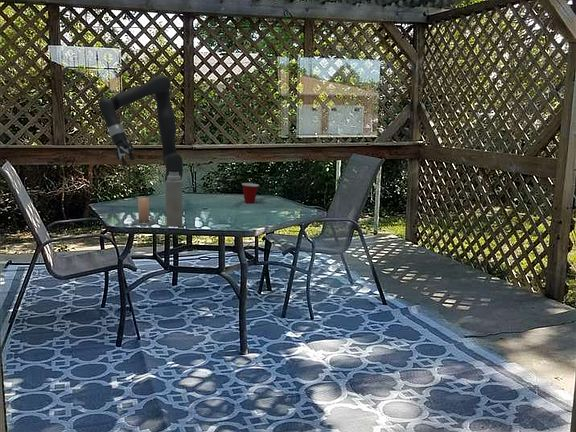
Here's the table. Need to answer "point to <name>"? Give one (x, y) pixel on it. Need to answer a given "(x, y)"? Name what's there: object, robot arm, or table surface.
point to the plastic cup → (249, 192)
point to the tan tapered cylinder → (143, 210)
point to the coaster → (143, 223)
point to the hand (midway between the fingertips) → (129, 162)
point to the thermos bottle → (173, 199)
